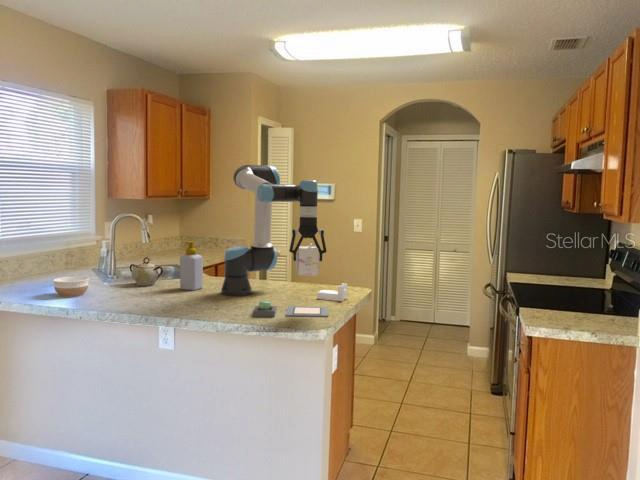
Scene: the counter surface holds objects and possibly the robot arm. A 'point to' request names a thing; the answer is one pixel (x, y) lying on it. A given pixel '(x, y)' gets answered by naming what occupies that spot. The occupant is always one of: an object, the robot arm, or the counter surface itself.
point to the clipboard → (307, 311)
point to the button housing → (264, 312)
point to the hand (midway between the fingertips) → (307, 268)
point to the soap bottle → (191, 269)
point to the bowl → (71, 286)
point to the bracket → (334, 294)
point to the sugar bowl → (146, 273)
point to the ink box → (308, 260)
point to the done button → (264, 305)
